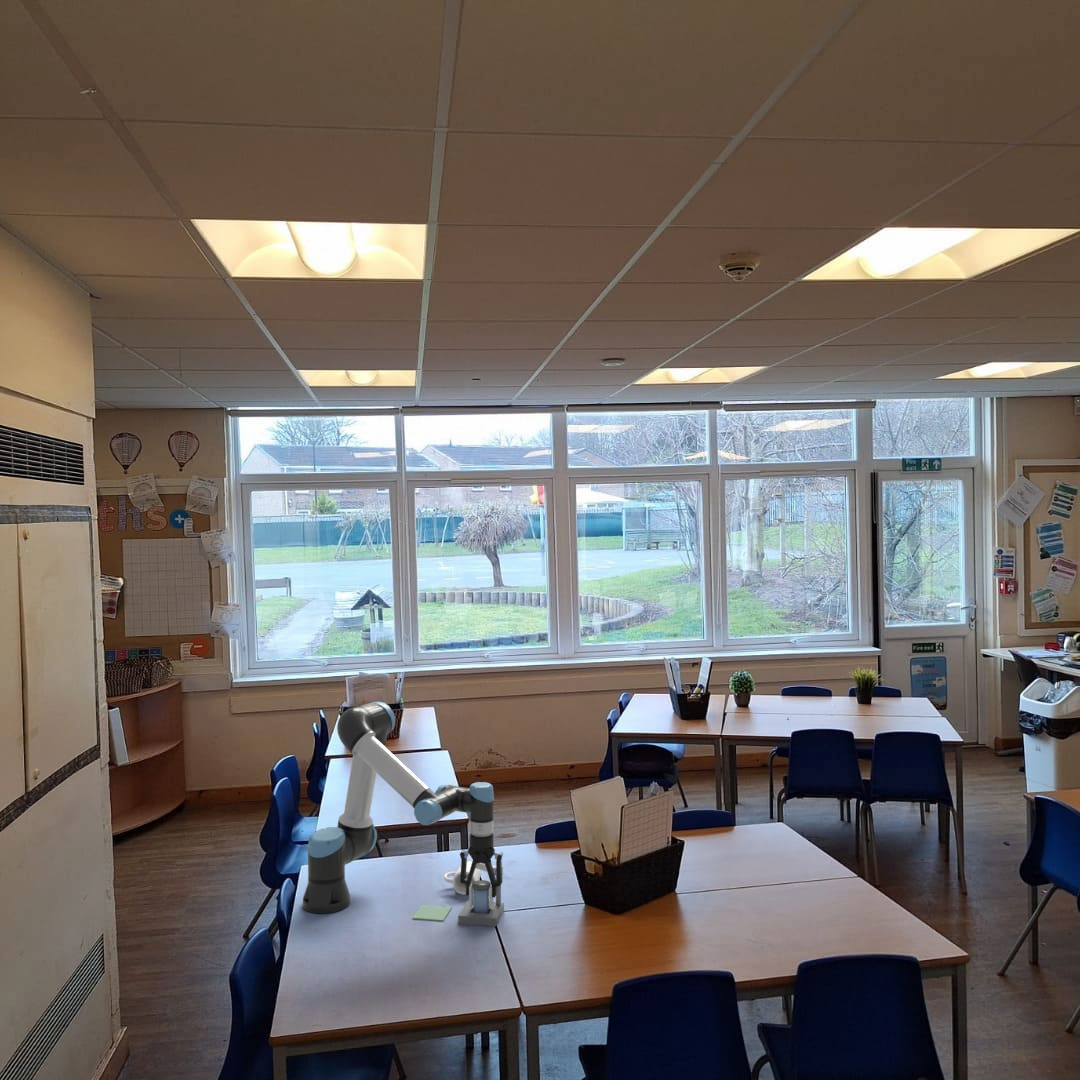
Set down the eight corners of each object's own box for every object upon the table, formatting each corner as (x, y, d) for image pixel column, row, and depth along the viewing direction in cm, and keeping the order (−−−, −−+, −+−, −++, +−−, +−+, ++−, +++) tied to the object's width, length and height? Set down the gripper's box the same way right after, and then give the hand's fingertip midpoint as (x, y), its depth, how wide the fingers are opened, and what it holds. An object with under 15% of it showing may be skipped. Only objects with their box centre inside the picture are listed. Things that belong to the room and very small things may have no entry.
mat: (412, 918, 286) (412, 917, 286) (421, 906, 295) (421, 904, 295) (443, 921, 284) (443, 919, 284) (451, 908, 294) (451, 907, 294)
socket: (458, 923, 282) (458, 885, 282) (467, 908, 294) (467, 871, 294) (496, 926, 280) (496, 887, 280) (503, 910, 292) (504, 873, 292)
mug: (480, 884, 314) (481, 861, 314) (476, 895, 304) (476, 872, 304) (446, 883, 315) (446, 860, 315) (440, 894, 305) (440, 870, 305)
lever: (504, 873, 291) (504, 867, 291) (498, 876, 289) (499, 870, 289) (477, 865, 298) (477, 859, 298) (472, 868, 296) (472, 862, 296)
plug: (470, 920, 285) (470, 886, 285) (474, 912, 290) (474, 879, 290) (488, 921, 284) (488, 887, 284) (492, 913, 290) (492, 880, 289)
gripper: (449, 835, 285) (449, 908, 285) (508, 838, 282) (508, 913, 282) (455, 827, 292) (455, 899, 292) (513, 831, 289) (512, 903, 289)
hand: (481, 906), depth 287 cm, fingers closed on plug, 6 cm apart
